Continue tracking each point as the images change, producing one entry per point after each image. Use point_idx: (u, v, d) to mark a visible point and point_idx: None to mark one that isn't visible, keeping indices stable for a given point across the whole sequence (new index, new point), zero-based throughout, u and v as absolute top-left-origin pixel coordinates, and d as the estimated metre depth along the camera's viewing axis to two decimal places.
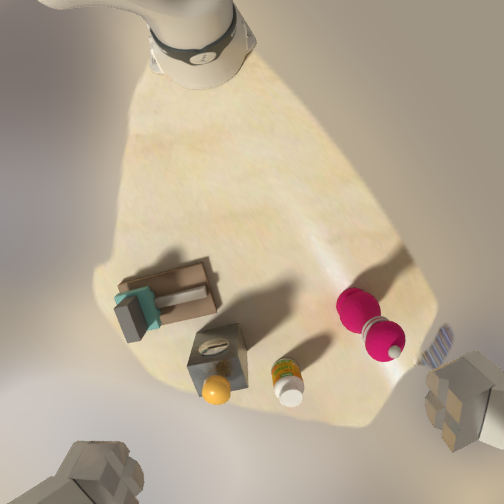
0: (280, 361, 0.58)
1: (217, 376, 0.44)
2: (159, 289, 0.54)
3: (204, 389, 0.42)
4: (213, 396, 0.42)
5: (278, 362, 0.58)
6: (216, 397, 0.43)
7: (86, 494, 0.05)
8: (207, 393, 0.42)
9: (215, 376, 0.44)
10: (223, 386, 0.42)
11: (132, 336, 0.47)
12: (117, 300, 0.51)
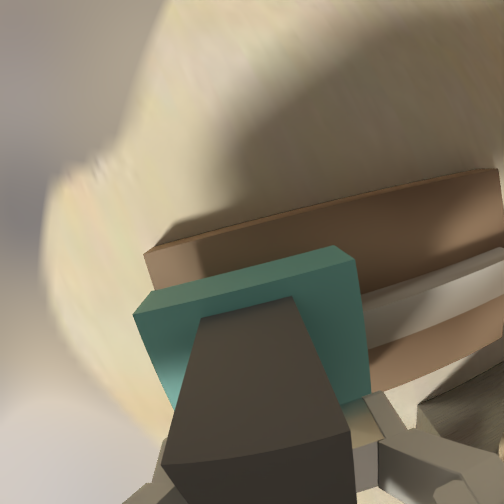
0: None
1: None
2: None
3: None
4: None
5: None
6: None
7: None
8: None
9: None
10: None
11: None
12: (156, 333, 0.08)
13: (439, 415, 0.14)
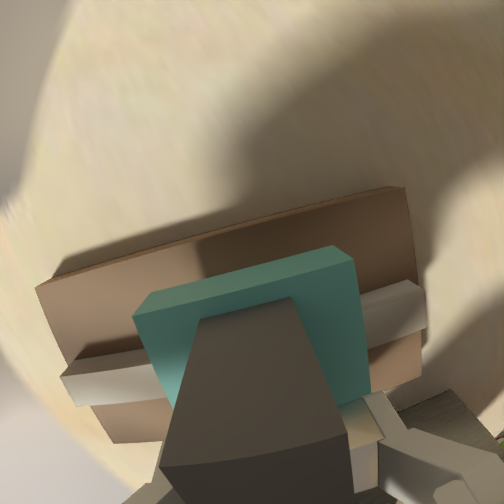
0: None
1: None
2: None
3: None
4: None
5: None
6: None
7: None
8: None
9: None
10: None
11: None
12: (155, 334, 0.08)
13: None
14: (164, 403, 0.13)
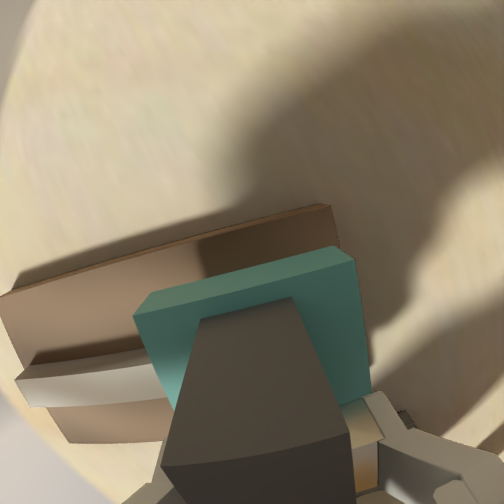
0: None
1: None
2: (134, 322, 0.12)
3: None
4: None
5: None
6: None
7: None
8: None
9: None
10: None
11: None
12: (156, 333, 0.08)
13: None
14: (106, 409, 0.13)
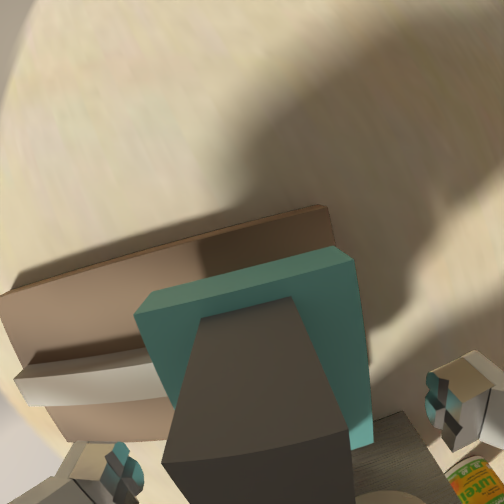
0: (463, 469, 0.16)
1: None
2: (132, 321, 0.12)
3: None
4: None
5: (459, 472, 0.16)
6: None
7: (86, 494, 0.05)
8: None
9: None
10: None
11: None
12: (156, 332, 0.08)
13: None
14: (104, 408, 0.13)
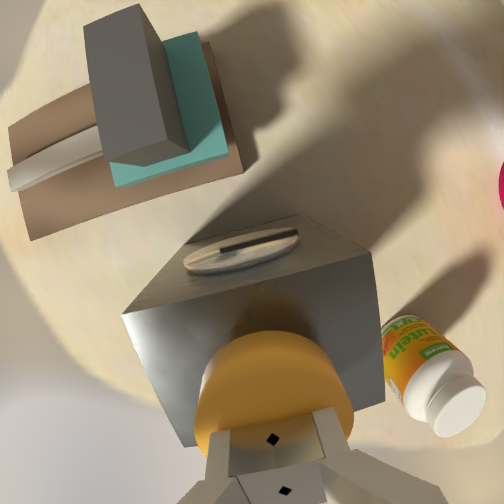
0: (399, 322, 0.22)
1: (279, 336, 0.08)
2: (93, 116, 0.18)
3: (208, 411, 0.07)
4: None
5: (394, 325, 0.22)
6: None
7: (247, 492, 0.05)
8: None
9: (268, 336, 0.08)
10: (326, 390, 0.07)
11: (132, 124, 0.10)
12: None
13: (190, 246, 0.20)
14: (63, 192, 0.19)
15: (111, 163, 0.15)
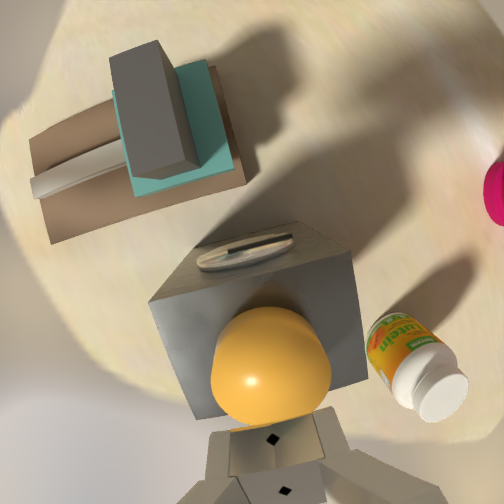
0: (388, 318, 0.24)
1: (274, 310, 0.11)
2: (110, 132, 0.21)
3: (222, 362, 0.10)
4: (260, 395, 0.10)
5: (384, 321, 0.24)
6: (271, 399, 0.10)
7: (247, 492, 0.05)
8: (232, 381, 0.10)
9: (266, 310, 0.11)
10: (308, 347, 0.10)
11: (156, 146, 0.13)
12: None
13: (199, 249, 0.22)
14: (83, 200, 0.22)
15: (131, 176, 0.18)
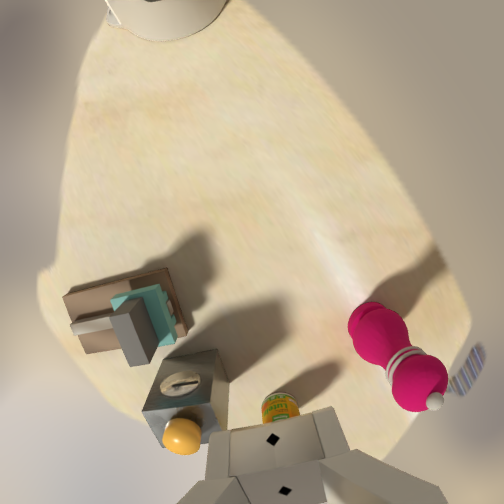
0: (273, 396, 0.43)
1: (182, 420, 0.30)
2: None
3: (165, 436, 0.29)
4: (177, 445, 0.29)
5: (270, 398, 0.43)
6: (181, 447, 0.29)
7: (247, 492, 0.05)
8: (168, 441, 0.29)
9: (180, 420, 0.30)
10: (190, 435, 0.29)
11: (137, 358, 0.31)
12: (115, 304, 0.35)
13: (165, 364, 0.41)
14: (102, 335, 0.40)
15: None
